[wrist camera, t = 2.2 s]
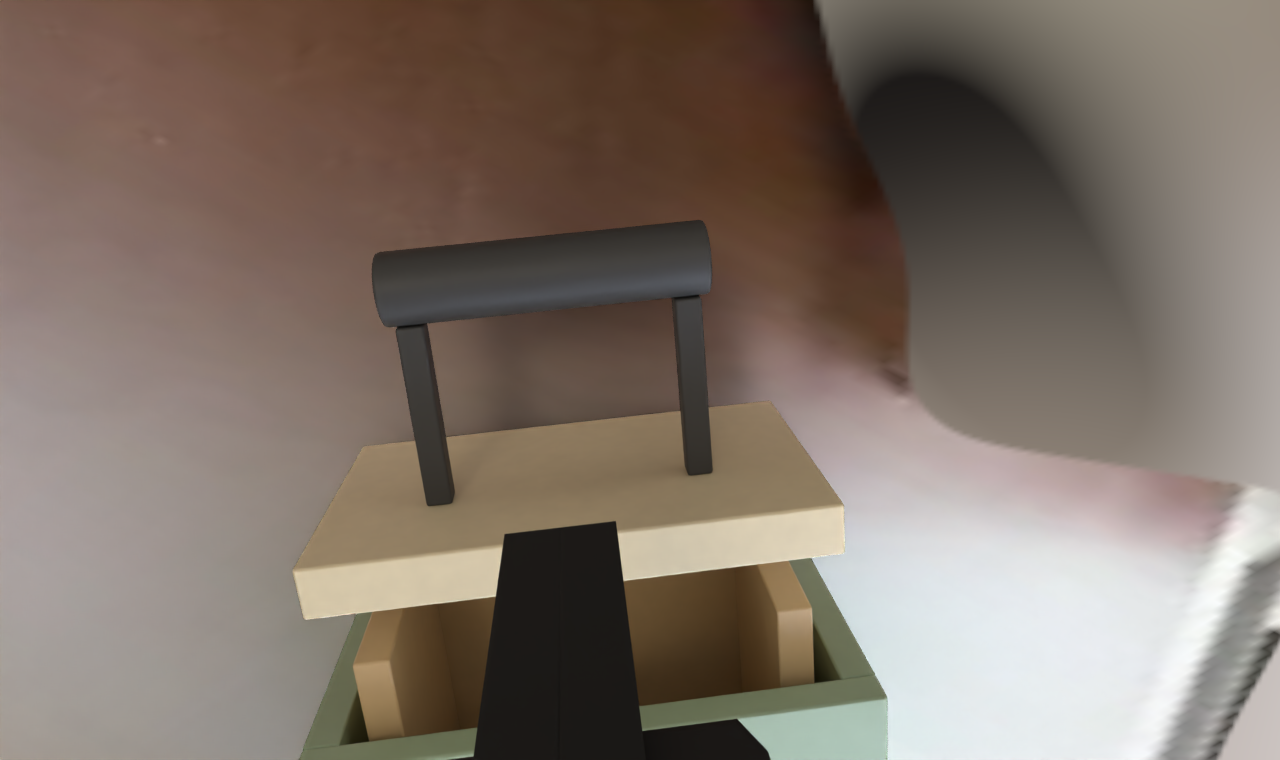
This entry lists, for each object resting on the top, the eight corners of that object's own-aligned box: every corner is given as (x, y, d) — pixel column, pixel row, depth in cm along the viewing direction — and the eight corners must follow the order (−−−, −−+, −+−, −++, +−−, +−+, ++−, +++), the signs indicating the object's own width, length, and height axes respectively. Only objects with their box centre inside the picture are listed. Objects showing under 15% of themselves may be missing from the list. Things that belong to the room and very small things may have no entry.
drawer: (320, 234, 22) (223, 288, 16) (761, 190, 23) (840, 225, 17) (439, 833, 28) (403, 1049, 22) (788, 785, 29) (853, 982, 22)
